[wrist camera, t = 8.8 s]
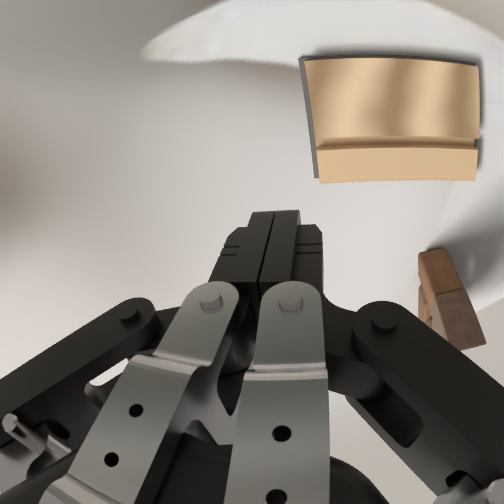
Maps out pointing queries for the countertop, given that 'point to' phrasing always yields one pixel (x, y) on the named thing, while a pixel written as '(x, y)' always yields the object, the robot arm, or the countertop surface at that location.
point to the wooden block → (446, 301)
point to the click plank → (393, 98)
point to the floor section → (389, 149)
